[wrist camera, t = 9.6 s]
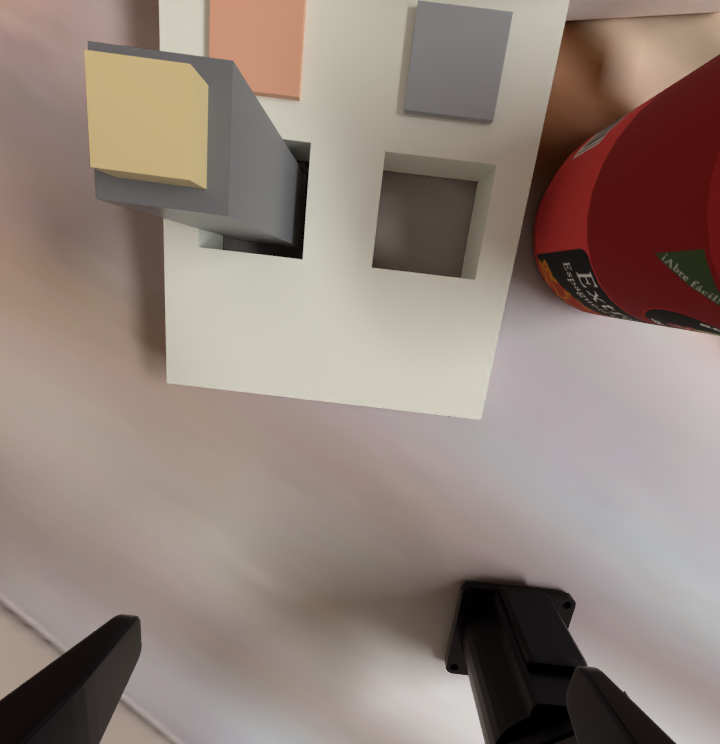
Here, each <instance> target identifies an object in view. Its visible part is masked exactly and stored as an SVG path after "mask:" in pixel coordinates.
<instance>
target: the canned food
mask: <svg viewBox="0 0 720 744" xmlns="http://www.w3.org/2000/svg"><path fill="white" fill-rule="evenodd" d="M533 250H534V254H535V259H536V263H537V266H538V268H539V271H540V273H541V275H542V277H543V279H544V280H545V282H546V283H547V284H548V285H549V287H550V288H551V289H552V290H553V292H554V293H555V294H556V295H558V296H559V297H560V298H561V299H563V300H564V301H565V302H566V303H567V304H569V305H571V306H573V307H575V308H577V309H579V310H581V311H583V312H588V313H592V314H597V315H602V316H608V317H613V318H619V319H625V320H631V321H637V322H643V323H648V324H654V325H660V326H666V327H672V328H678V329H684V330H689V331H695V332H701V333H707V334H713V335H719V336H720V55H718V56H717V57H715V58H713V59H712V60H710V61H709V62H707V63H706V64H704V65H703V66H701V67H699V68H698V69H696V70H695V71H693V72H692V73H690V74H689V75H687V76H685V77H684V78H682V79H681V80H679V81H678V82H676V83H675V84H673V85H671V86H670V87H668V88H667V89H665V90H664V91H662V92H661V93H659V94H657V95H656V96H654V97H653V98H651V99H650V100H648V101H647V102H645V103H643V104H642V105H640V106H639V107H637V108H636V109H634V110H633V111H631V112H629V113H628V114H626V115H625V116H623V117H622V118H620V119H619V120H617V121H615V122H614V123H612V124H611V125H609V126H608V127H606V128H605V129H603V130H601V131H600V132H598V133H597V134H595V135H594V136H592V137H591V138H589V139H588V140H586V141H585V142H584V143H583V144H582V145H581V146H579V147H578V148H577V149H576V150H575V151H574V152H573V153H572V154H571V155H570V156H569V157H568V158H567V159H566V161H565V162H564V163H563V165H562V166H561V167H560V169H559V170H558V171H557V172H556V174H555V175H554V177H553V179H552V180H551V182H550V184H549V186H548V188H547V189H546V191H545V193H544V195H543V197H542V199H541V202H540V205H539V208H538V211H537V214H536V217H535V224H534V230H533Z"/></svg>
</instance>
